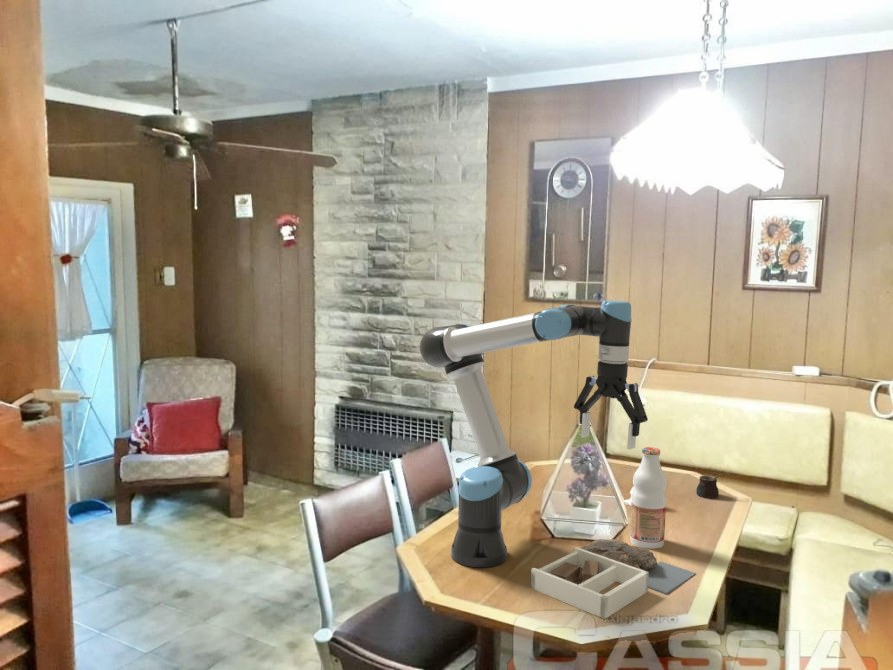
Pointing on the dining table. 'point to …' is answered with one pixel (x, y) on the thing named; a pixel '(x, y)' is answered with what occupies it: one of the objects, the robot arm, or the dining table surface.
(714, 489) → the mate gourd
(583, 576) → the offcut block upper
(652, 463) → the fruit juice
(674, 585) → the mat
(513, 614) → the dining table surface
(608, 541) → the brown rock
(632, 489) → the white creature statuette
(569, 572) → the offcut block lower
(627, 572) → the tray
